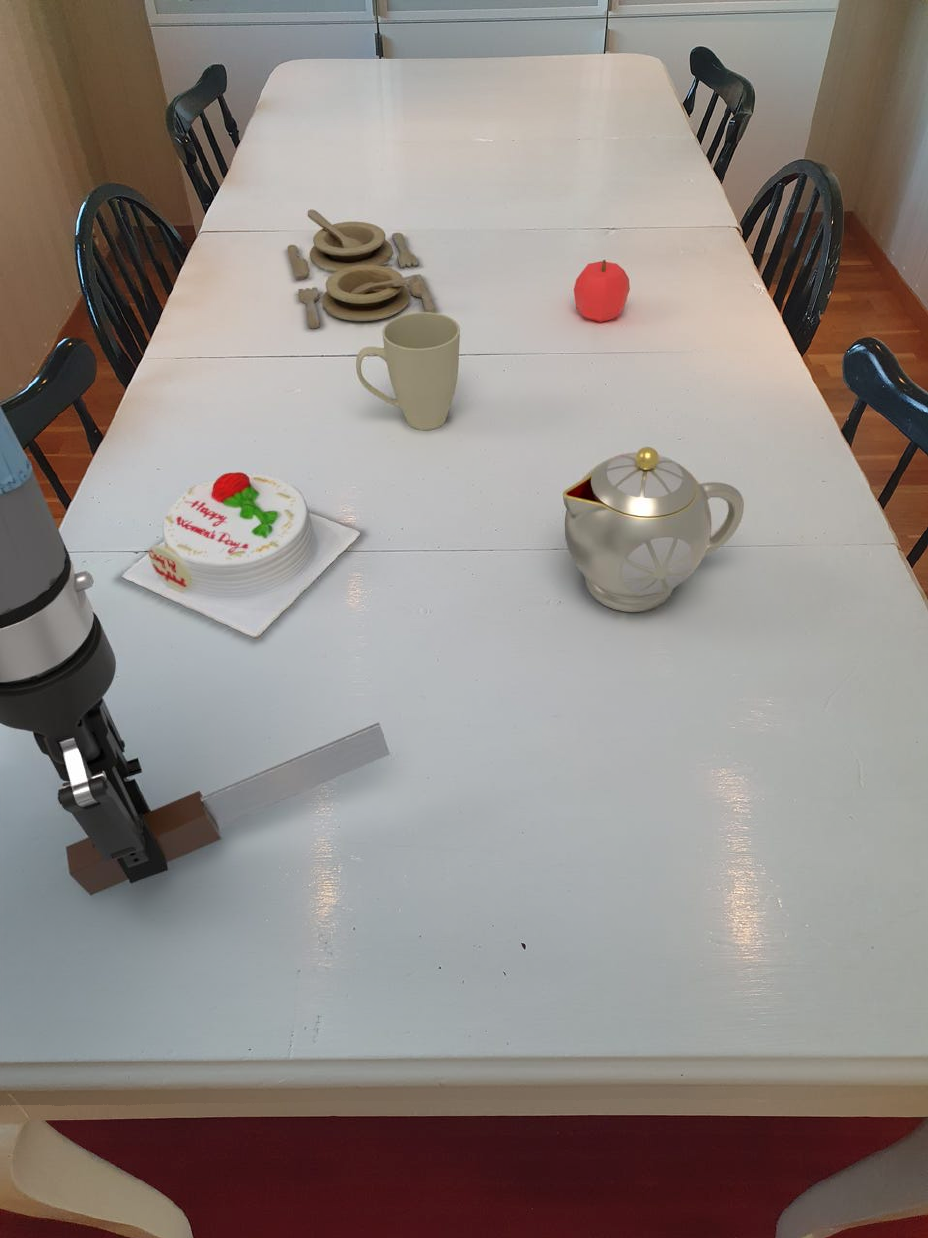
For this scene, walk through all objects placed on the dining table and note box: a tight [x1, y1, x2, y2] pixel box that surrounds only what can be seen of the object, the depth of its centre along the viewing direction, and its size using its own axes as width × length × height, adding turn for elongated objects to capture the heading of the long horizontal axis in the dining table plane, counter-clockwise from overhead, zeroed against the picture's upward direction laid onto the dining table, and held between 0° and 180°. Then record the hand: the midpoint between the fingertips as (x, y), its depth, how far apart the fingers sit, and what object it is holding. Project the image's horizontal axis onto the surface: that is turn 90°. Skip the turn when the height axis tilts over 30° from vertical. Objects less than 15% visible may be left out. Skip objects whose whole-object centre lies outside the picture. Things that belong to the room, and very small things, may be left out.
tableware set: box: [287, 209, 436, 330], centre depth 139 cm, size 30×20×6 cm, turn 14°
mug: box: [355, 311, 461, 431], centre depth 109 cm, size 11×10×12 cm
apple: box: [573, 259, 631, 323], centre depth 129 cm, size 8×8×8 cm
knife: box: [65, 722, 391, 896], centre depth 67 cm, size 24×2×4 cm, turn 113°
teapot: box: [562, 446, 745, 613], centre depth 85 cm, size 18×14×16 cm
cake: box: [121, 471, 361, 639], centre depth 93 cm, size 18×18×8 cm
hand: (145, 854), depth 67 cm, fingers closed on knife, 2 cm apart
